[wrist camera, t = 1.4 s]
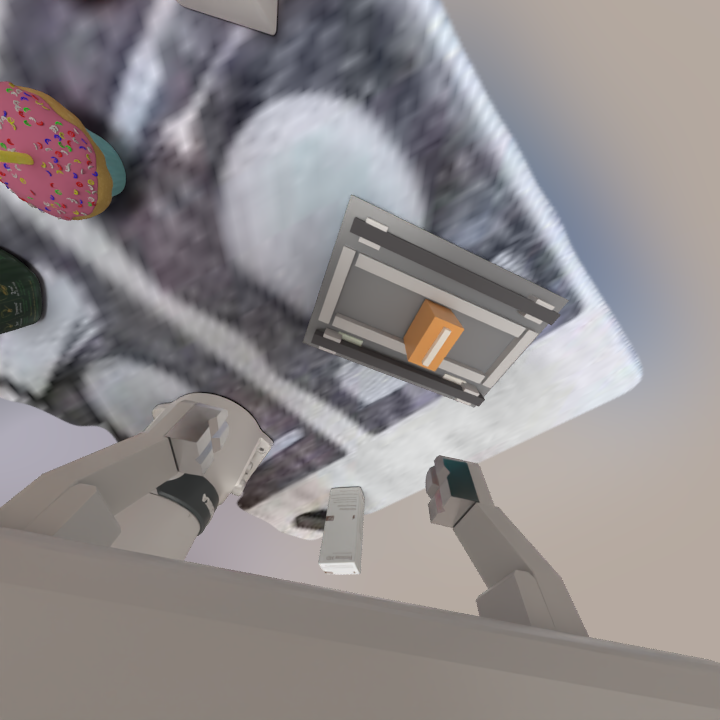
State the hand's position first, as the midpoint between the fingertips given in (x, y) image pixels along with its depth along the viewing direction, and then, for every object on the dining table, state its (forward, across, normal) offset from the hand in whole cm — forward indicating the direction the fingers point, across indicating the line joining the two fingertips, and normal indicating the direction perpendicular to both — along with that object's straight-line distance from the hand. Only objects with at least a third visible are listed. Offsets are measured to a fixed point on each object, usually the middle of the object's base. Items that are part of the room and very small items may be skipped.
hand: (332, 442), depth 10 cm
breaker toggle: (+20, -7, +2) cm, 21 cm away
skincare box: (+22, -6, +40) cm, 46 cm away
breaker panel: (+22, -7, +2) cm, 23 cm away
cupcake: (+22, +27, -5) cm, 35 cm away
